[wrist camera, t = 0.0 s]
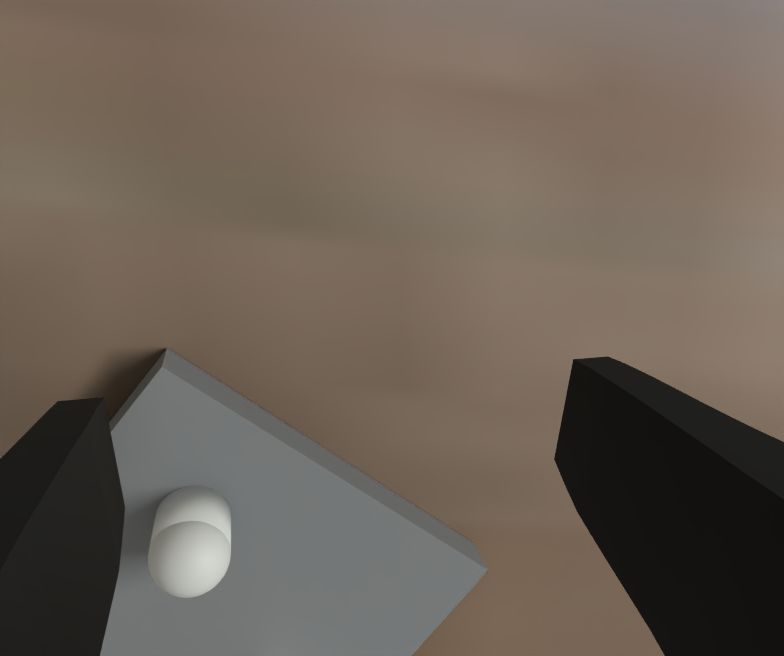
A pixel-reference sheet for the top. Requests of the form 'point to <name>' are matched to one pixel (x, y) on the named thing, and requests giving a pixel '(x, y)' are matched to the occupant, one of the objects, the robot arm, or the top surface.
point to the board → (264, 536)
